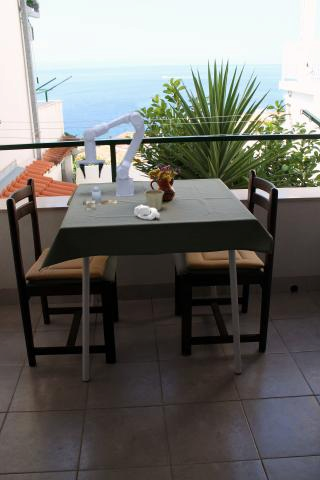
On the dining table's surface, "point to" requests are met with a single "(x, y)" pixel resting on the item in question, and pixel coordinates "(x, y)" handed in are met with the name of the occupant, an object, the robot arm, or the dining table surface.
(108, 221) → the dining table surface
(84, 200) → the track
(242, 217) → the dining table surface
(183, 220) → the dining table surface
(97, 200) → the pawn
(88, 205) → the die
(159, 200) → the flower pot
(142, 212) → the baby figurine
